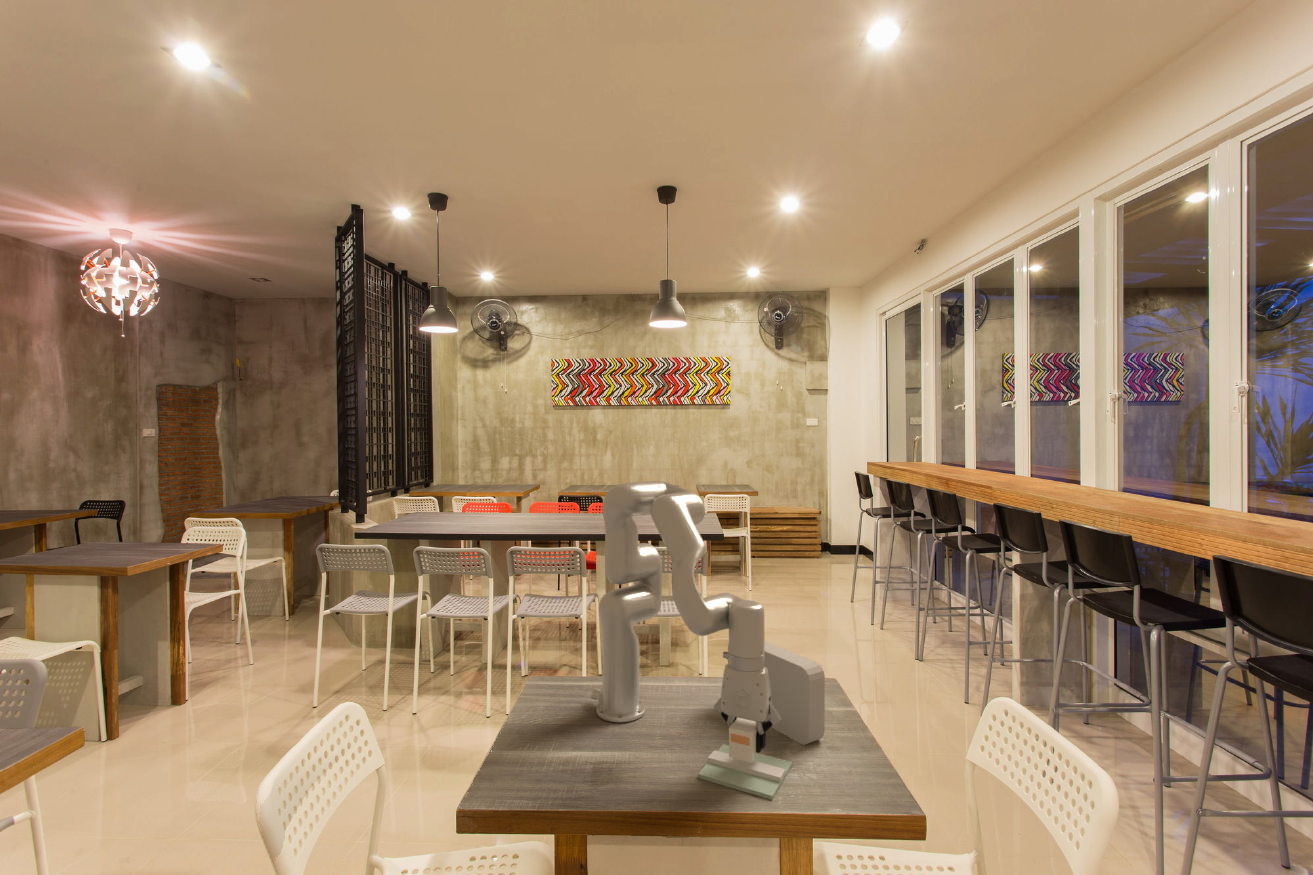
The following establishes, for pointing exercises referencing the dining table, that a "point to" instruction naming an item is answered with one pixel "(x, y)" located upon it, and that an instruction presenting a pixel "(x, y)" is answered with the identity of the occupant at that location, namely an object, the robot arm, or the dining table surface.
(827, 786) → the dining table surface
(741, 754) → the block
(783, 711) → the grey rounded block
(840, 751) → the dining table surface
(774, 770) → the rail board
